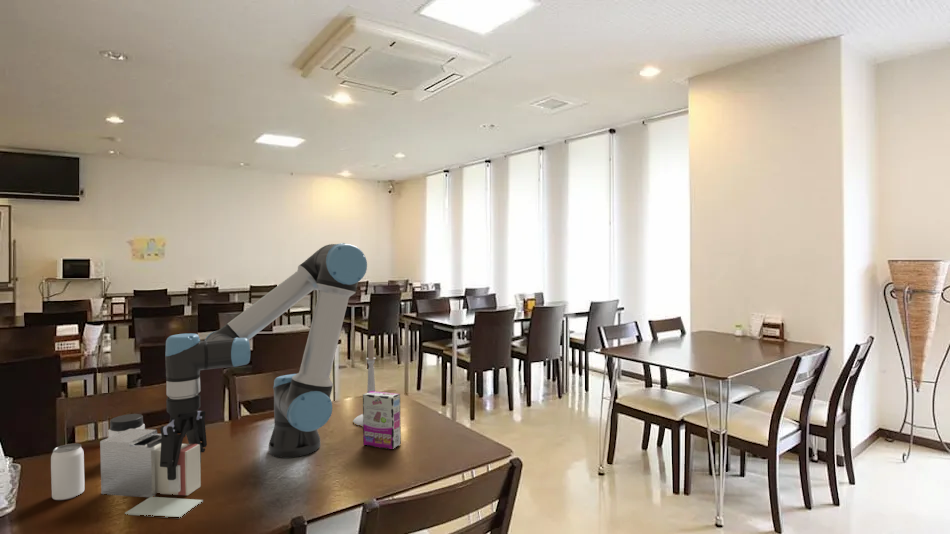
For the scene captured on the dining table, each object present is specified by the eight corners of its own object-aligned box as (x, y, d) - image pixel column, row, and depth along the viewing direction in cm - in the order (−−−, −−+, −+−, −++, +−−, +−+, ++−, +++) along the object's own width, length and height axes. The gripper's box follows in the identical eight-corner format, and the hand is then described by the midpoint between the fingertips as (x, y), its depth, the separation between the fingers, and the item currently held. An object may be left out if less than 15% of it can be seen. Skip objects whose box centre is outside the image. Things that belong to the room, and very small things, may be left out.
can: (63, 489, 132) (62, 443, 132) (90, 488, 133) (89, 442, 133) (45, 501, 126) (43, 453, 126) (73, 500, 126) (72, 452, 126)
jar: (108, 466, 147) (107, 424, 146) (109, 456, 154) (108, 417, 153) (145, 459, 152) (144, 418, 151) (145, 450, 158) (144, 411, 158)
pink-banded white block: (200, 486, 134) (200, 444, 134) (187, 495, 129) (186, 451, 128) (151, 483, 136) (151, 441, 135) (136, 492, 131) (135, 449, 130)
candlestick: (384, 427, 178) (384, 341, 178) (348, 427, 179) (347, 341, 178) (393, 416, 191) (392, 335, 190) (359, 415, 192) (358, 335, 191)
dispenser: (101, 494, 130) (100, 441, 129) (131, 478, 139) (129, 428, 139) (151, 497, 128) (150, 443, 127) (178, 480, 137) (177, 430, 137)
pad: (203, 501, 126) (203, 499, 126) (180, 518, 118) (180, 516, 118) (150, 498, 127) (150, 496, 127) (124, 514, 120) (124, 512, 120)
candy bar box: (401, 445, 162) (401, 393, 162) (393, 450, 158) (392, 397, 157) (371, 440, 166) (371, 390, 166) (362, 445, 162) (362, 393, 161)
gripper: (195, 384, 141) (197, 467, 142) (139, 406, 122) (142, 502, 122) (221, 385, 140) (222, 469, 141) (168, 407, 121) (170, 504, 121)
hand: (185, 484), depth 132 cm, fingers open, 7 cm apart
